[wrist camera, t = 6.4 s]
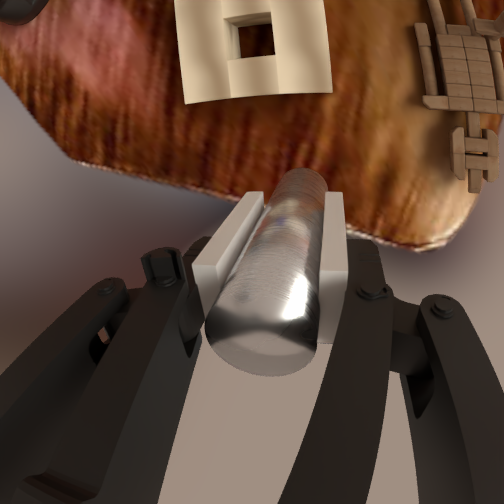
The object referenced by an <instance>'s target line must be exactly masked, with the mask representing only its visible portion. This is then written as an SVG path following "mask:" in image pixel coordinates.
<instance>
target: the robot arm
mask: <svg viewBox="0 0 504 504" xmlns="http://www.w3.org/2000/svg"><path fill="white" fill-rule="evenodd" d="M47 2H48V0H0V21H1V22H4V23H6V24H9V25H21V24H25V23H27V22H29V21H31V20H32V19H33V18H34V17H35V16H36V15H37V14H38V13H39V12H40V11H41V10H42V9H43V7H44V6H45V5H46V3H47ZM263 211H264V199H263V192H247V193H246V194H245V195H244V196H243V198H242V199H241V200H240V202H239V203H238V204H237V205H236V207H235V208H234V209H233V211H232V212H231V213H230V214H229V216H228V217H227V218H226V220H225V221H224V222H223V224H222V225H221V226H220V228H219V229H218V230H217V232H216V233H215V234H214V235H213V237H202V238H201V239H199V240H197V241H196V242H194V244H192V246H191V247H190V248H189V250H188V251H187V252H186V253H185V254H184V256H183V257H182V255H181V252H180V251H179V249H176V248H172V247H164V248H158V249H155V250H152V251H150V252H148V253H146V254H145V255H143V256H142V257H141V262H142V265H143V269H144V272H145V275H146V278H147V282H146V284H145V286H144V287H143V288H135V289H127V288H126V286H125V283H124V281H123V280H122V279H120V278H112V277H111V278H106V279H104V280H102V281H100V282H98V283H96V284H95V285H94V286H92V287H91V288H90V289H89V290H88V291H87V292H86V293H85V294H83V295H82V296H81V297H80V298H79V299H78V300H77V301H76V302H75V303H73V304H72V305H71V306H70V307H69V308H68V309H67V310H66V311H65V312H64V313H63V314H62V315H61V316H59V317H58V318H57V319H56V320H55V321H54V322H53V323H52V324H51V325H50V326H49V327H48V328H47V329H46V330H45V331H44V332H43V333H42V334H41V335H39V336H38V337H37V338H36V339H35V340H34V341H33V342H32V343H31V344H30V345H29V346H28V347H27V349H25V350H24V351H23V352H22V354H21V355H19V356H18V357H17V359H16V360H15V361H14V362H13V363H12V364H11V365H10V366H9V367H8V368H7V369H6V370H5V371H4V372H3V373H2V374H1V375H0V504H157V503H158V499H159V495H160V491H161V488H162V483H163V480H164V476H165V472H166V468H167V465H168V460H169V457H170V453H171V450H172V446H173V442H174V439H175V435H176V431H177V428H178V424H179V420H180V417H181V413H182V410H183V406H184V403H185V399H186V395H187V392H188V388H189V385H190V381H191V378H192V374H193V371H194V367H195V364H196V361H197V357H198V354H199V350H200V347H201V343H202V335H201V332H200V328H201V327H202V325H203V323H204V321H205V320H206V317H207V315H208V313H209V311H210V309H211V307H212V305H213V303H214V302H215V300H216V298H217V296H218V294H219V292H220V290H221V289H222V287H223V285H224V283H225V281H226V279H227V277H228V276H229V274H230V272H231V270H232V268H233V266H234V264H235V263H236V261H237V259H238V257H239V255H240V253H241V251H242V250H243V248H244V246H245V244H246V242H247V240H248V238H249V237H250V235H251V233H252V231H253V229H254V227H255V226H256V224H257V222H258V220H259V218H260V216H261V215H262V213H263ZM319 302H320V309H321V312H320V322H319V331H318V340H317V343H323V344H333V346H332V350H331V353H330V357H329V361H328V364H327V367H326V371H325V374H324V378H323V381H322V384H321V388H320V391H319V394H318V397H317V400H316V403H315V406H314V409H313V412H312V415H311V418H310V421H309V424H308V427H307V430H306V433H305V436H304V438H303V441H302V444H301V447H300V449H299V452H298V455H297V457H296V460H295V463H294V465H293V468H292V470H291V473H290V475H289V478H288V480H287V483H286V485H285V487H284V490H283V492H282V494H281V497H280V499H279V502H278V504H366V500H367V496H368V493H369V489H370V485H371V481H372V476H373V472H374V467H375V462H376V458H377V453H378V448H379V443H380V437H381V431H382V425H383V419H384V412H385V405H386V396H387V389H388V380H389V371H393V372H397V373H400V380H401V385H402V390H403V394H404V399H405V405H406V409H407V415H408V421H409V427H410V432H411V439H412V445H413V452H414V459H415V467H416V476H417V485H418V496H419V504H504V393H503V390H502V387H501V385H500V382H499V380H498V378H497V375H496V373H495V371H494V368H493V366H492V364H491V362H490V360H489V357H488V355H487V353H486V351H485V349H484V347H483V345H482V343H481V341H480V339H479V337H478V335H477V333H476V331H475V329H474V327H473V325H472V323H471V321H470V319H469V317H468V316H467V314H466V312H465V310H464V308H463V307H462V306H461V304H460V303H459V302H458V301H456V300H455V299H453V298H451V297H449V296H446V295H440V294H433V295H428V296H427V297H425V298H424V299H422V302H421V304H420V306H419V305H415V304H411V303H407V302H404V301H401V300H399V299H398V298H396V297H394V295H393V291H392V289H391V288H390V287H389V286H388V285H387V284H386V282H385V278H384V274H383V268H382V264H381V259H380V256H379V251H378V247H377V246H376V245H375V244H374V243H373V242H372V241H371V240H363V239H346V229H345V217H344V206H343V196H342V192H326V193H325V210H324V225H323V239H322V251H321V262H320V280H319ZM102 328H104V331H105V333H106V335H107V337H108V340H107V341H105V342H104V343H103V342H102V341H101V339H100V337H99V336H98V332H99V330H101V329H102Z"/></svg>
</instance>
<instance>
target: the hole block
mask: <svg viewBox="0 0 504 504" xmlns="http://www.w3.org/2000/svg"><path fill="white" fill-rule="evenodd" d="M174 2H175V14H176V26H177V36H178V46H179V56H180V65H181V74H182V83H183V91H184V99H185V104H191V103H198V102H205V101H212V100H220V99H229V98H238V97H248V96H259V95H273V94H292V93H332V79H331V67H330V56H329V46H328V36H327V27H326V19H325V11H324V4H323V0H174ZM270 23H272V26H273V35H274V45H275V54H276V55H270V56H260V57H251V58H242V59H241V53H240V44H239V34H238V27H245V26H252V25H261V24H270Z"/></svg>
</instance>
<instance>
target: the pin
mask: <svg viewBox="0 0 504 504" xmlns="http://www.w3.org/2000/svg"><path fill="white" fill-rule="evenodd" d="M326 192H328V188H327V185H326V182H325V181H324V179H323V178H322V177H321V176H320V175H319V174H318V173H317V172H315V171H313V170H311V169H307V168H296V169H293V170H291V171H289V172H287V173H286V174H285V175H284V176H283V177H282V178H281V180H280V182H279V183H278V185H277V187H276V189H275V191H274V193H273V194H272V196H271V198H270V200H269V202H268V204H267V205H266V207H265V209H264V211H263V213H262V215H261V216H260V218H259V220H258V222H257V224H256V226H255V227H254V229H253V231H252V233H251V235H250V237H249V238H248V240H247V242H246V244H245V246H244V248H243V250H242V251H241V253H240V255H239V257H238V259H237V261H236V263H235V264H234V266H233V268H232V270H231V272H230V274H229V276H228V277H227V279H226V281H225V283H224V285H223V287H222V289H221V290H220V292H219V294H218V296H217V298H216V300H215V302H214V303H213V305H212V307H211V309H210V311H209V313H208V315H207V317H206V320H205V334H206V338H207V340H208V342H209V344H210V346H211V347H212V349H213V350H214V351H215V352H216V354H217V355H218V356H219V357H221V358H222V359H223V360H224V361H226V362H227V363H228V364H230V365H232V366H233V367H235V368H237V369H240V370H242V371H244V372H247V373H251V374H255V375H260V376H283V375H288V374H291V373H294V372H296V371H299V370H301V369H302V368H304V367H305V366H306V365H307V364H308V363H309V362H310V361H311V360H312V358H313V357H314V355H315V352H316V349H317V340H318V331H319V322H320V312H321V309H320V302H319V280H320V262H321V251H322V239H323V225H324V210H325V193H326Z"/></svg>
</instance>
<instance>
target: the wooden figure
mask: <svg viewBox="0 0 504 504" xmlns="http://www.w3.org/2000/svg"><path fill="white" fill-rule="evenodd" d="M427 2H428V5H429V9H430V12H431V16H432V20H433V23H434V27H435V31H436V39H435V42H436V47H437V51H438V57H439V62H440V68H441V73H442V80H443V85H444V94H445V96H439V94H438V86H437V80H436V74H435V68H434V62H433V57H432V52H431V42H430V37H429V33H428V29H427V25H426V23H414V29H415V33H416V37H417V42H418V46H419V53H420V58H421V63H422V69H423V75H424V81H425V88H426V95H423V96H422V103H423V104H424V105H425V106H426V107H427V108H428V109H430V110H448V111H465V112H466V124H467V136H468V137H467V136H464V128H463V127H457V126H455V127H453V128H452V130H451V131H450V132H449V139H450V161H451V170H452V172H453V173H454V174H455V176H456V177H457V178H458V179H459V180H465V168H466V169H468V192H469V193H478V194H479V193H480V191H481V170H483V178H484V179H485V180H486V181H487V182H494V181H495V180H496V179H497V178H498V174H499V160H498V159H499V158H498V156H499V147H498V136H497V135H496V134H495V133H494V132H493V130H489V129H482V138H481V134H480V120H479V113H488V114H501V115H504V70H503V64H502V59H501V54H500V52H501V51H502V50H501V46H500V42H499V38H500V37H504V10H503V12H502V13H501V14H500V16H499V17H498V18H497V19H496V21H493V20H486V19H478V18H476V14H475V11H474V8H473V4H472V1H471V0H460V2H461V5H462V9H463V12H464V15H465V19H466V23H467V26H465V25H451V24H445V20H444V16H443V13H442V9H441V6H440V3H439V0H427ZM481 34H483V35H484V36H483V37H481ZM487 47H488V50H487ZM488 52H489V54H488ZM489 55H490V59H489ZM490 60H491V64H490ZM491 65H492V69H491ZM492 70H493V76H494V82H493V76H492ZM494 83H495V89H494ZM495 90H496V96H495ZM496 98H497V100H496ZM465 151H475V152H483V154H473V153H465Z"/></svg>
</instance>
